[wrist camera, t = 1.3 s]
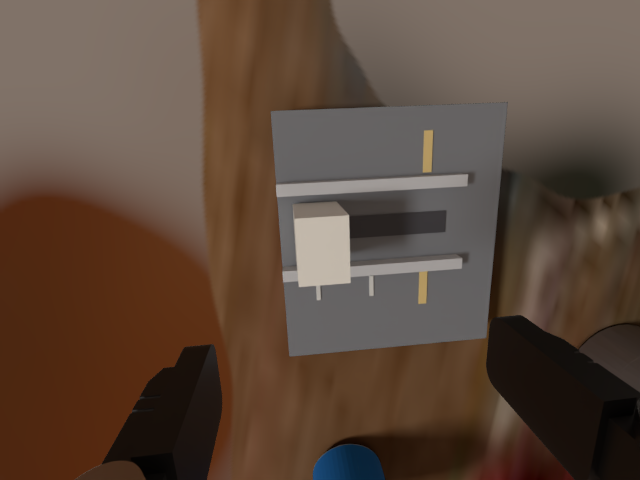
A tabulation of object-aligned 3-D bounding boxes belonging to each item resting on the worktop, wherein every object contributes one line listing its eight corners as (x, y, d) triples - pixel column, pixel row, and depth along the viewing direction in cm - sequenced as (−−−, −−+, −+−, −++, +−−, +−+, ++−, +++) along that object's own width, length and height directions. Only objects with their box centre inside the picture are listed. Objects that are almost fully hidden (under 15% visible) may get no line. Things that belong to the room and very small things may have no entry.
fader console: (487, 106, 26) (517, 100, 23) (470, 323, 31) (492, 344, 28) (271, 114, 25) (270, 109, 22) (289, 339, 30) (289, 364, 26)
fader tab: (336, 201, 24) (348, 215, 19) (338, 256, 25) (350, 283, 20) (292, 203, 24) (294, 218, 19) (296, 259, 25) (298, 287, 20)
